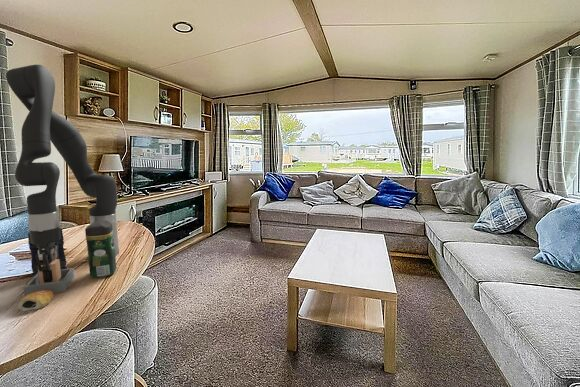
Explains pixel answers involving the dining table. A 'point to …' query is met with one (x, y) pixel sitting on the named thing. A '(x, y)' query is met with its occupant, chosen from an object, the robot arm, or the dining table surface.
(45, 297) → the pastry
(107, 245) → the coffee jar
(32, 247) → the storage jar
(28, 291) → the charcoal tray
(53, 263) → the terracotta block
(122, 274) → the dining table surface
